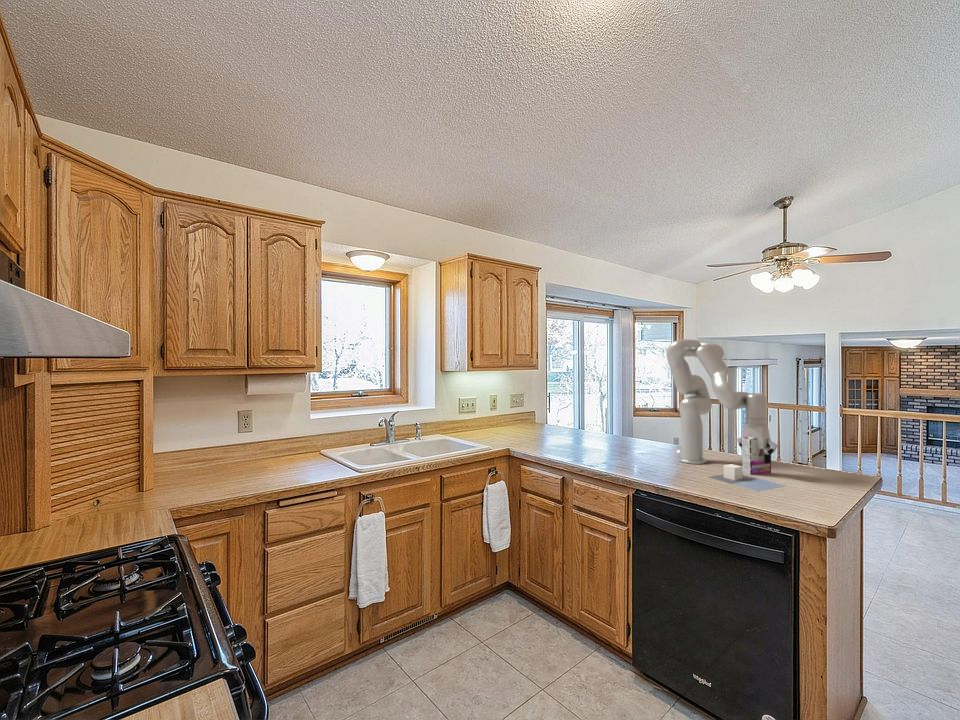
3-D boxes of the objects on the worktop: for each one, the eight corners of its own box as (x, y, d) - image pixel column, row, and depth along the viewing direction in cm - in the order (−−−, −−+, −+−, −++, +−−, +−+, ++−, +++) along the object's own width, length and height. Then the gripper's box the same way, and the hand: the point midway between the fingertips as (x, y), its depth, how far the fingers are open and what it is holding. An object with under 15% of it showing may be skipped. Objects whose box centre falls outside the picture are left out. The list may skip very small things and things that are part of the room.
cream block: (723, 477, 190) (723, 465, 190) (731, 475, 192) (731, 464, 192) (734, 480, 185) (734, 468, 185) (742, 478, 188) (742, 466, 187)
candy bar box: (761, 471, 201) (761, 434, 201) (771, 474, 196) (771, 436, 196) (741, 473, 198) (741, 436, 198) (750, 476, 193) (750, 438, 193)
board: (708, 479, 190) (708, 477, 190) (733, 474, 197) (733, 472, 197) (759, 493, 170) (759, 491, 170) (785, 487, 177) (785, 485, 177)
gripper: (731, 420, 203) (732, 458, 203) (770, 425, 187) (770, 466, 188) (743, 418, 206) (743, 456, 206) (781, 423, 190) (782, 464, 191)
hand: (756, 460), depth 197 cm, fingers open, 9 cm apart
